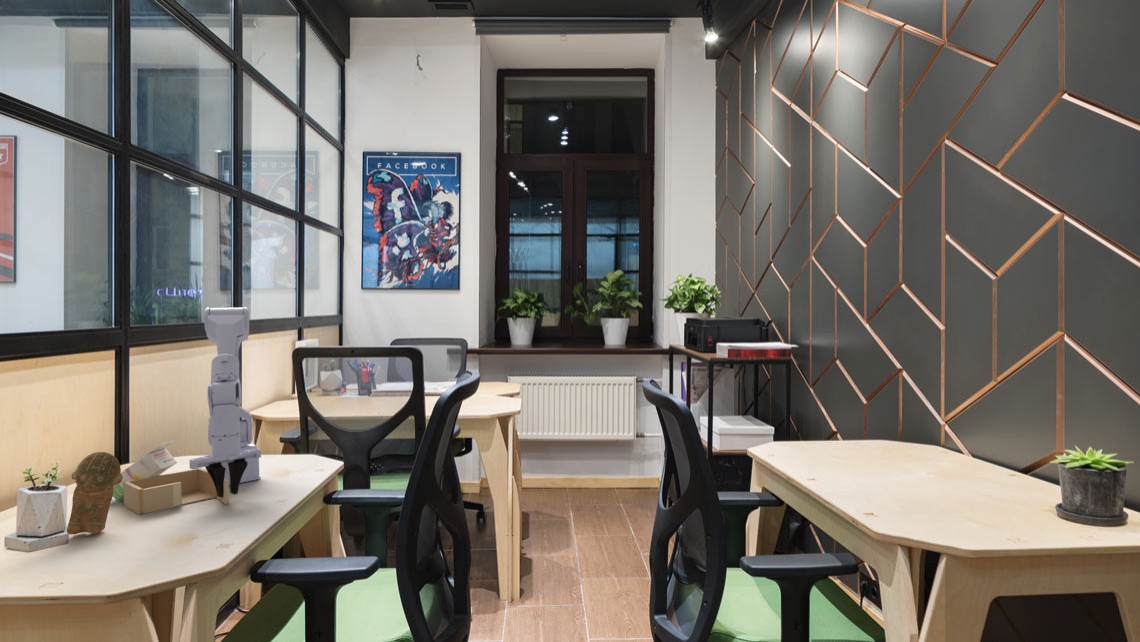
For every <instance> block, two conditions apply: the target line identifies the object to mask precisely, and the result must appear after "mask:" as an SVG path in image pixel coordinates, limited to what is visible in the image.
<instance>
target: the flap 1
mask: <svg viewBox="0 0 1140 642" xmlns="http://www.w3.org/2000/svg"><path fill="white" fill-rule="evenodd" d="M142 490H143V513H144V514H148V512H149V513H153V512H156V511H157V510H158V511H162V509H163V510H166V509H167V510H168V509H171V507H172V508H175V507H176V508H177V507H180V506H183V505H182V491H181V482H178V483H172V484H167V485H162V486H157V487H151V488H146V489H142ZM158 511H157V512H158Z"/></svg>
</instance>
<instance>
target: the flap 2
mask: <svg viewBox="0 0 1140 642" xmlns="http://www.w3.org/2000/svg"><path fill="white" fill-rule="evenodd" d="M216 499H218V500H219V501H221V502H222V503H223V504H225V505H226V504H229V503H230V485H229V483H228V480H227V479H225V478H224V482H223V497H219V496H217V498H216Z"/></svg>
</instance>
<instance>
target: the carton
mask: <svg viewBox="0 0 1140 642" xmlns="http://www.w3.org/2000/svg"><path fill="white" fill-rule="evenodd" d="M178 482H181V491H182V505H181V506H185V505H189V504H190V505H191V504H195V503H198V502H203V501H208V500H212V499H218V498H217V491H216V488H215V485H214V482H213V480H212V478H211V476H210V475H209V473H208V471H207V470H206V468H205V469H204V468H203V467H201V468H198V469H187V470H183V471H175V472H171V473H165V474H160V475H159V476H153V477H148V478H142V479H137V480H131V481H126V482H123V497H124V498H123V507H125V508H127V509H128V510H130V511H132V512H134V513H136V514H138V515H144V514H145V513H143V490H142V489H146V488H151V487H157V486H162V485H167V484H172V483H178ZM171 508H173V507H171ZM171 508H170V509H171ZM162 510H164V509H162ZM162 510H161V511H162ZM157 512H159V510H157ZM148 513H150V512H148ZM148 513H147V514H148Z"/></svg>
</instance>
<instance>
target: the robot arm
mask: <svg viewBox="0 0 1140 642" xmlns="http://www.w3.org/2000/svg"><path fill="white" fill-rule="evenodd" d="M203 315H204V316H203V318H204V320H203V322H204V331H205V334H206V337H207V339H208V341H210V342H212V343H215V344H216V351H217V355H216V356H215V357H213V359H211V365H210V366H211V367H210V368H211V370H210V384H208V385H207V390H206V391H207V396H206V397H207V404H208V409H209V418H208V428H207V429H208V430H207V438H208V441H207V442H208V445H209V446H210V447H211V454H209V455H205V456H201V457H197V458H196V457H195V458H192V459H191V458H190V459H189V469H190V470H192V469H198V468H205V470H207V471H208V473H209V475H210V476H211V478H212V480H213V482H214V485H215V488H216V491H217V496H219V497H223V482H224V478H225V479H227V480H228V483H229V493H230V494H232V495H237V494H238V492H239V486H240V484H243V483H246V482H252V481H257V480H260V479H261V476H260V458H262V449H261V448H259V447H257V445H256V444H255V443H252V442H253V441H254V440H253V433H254V432H253V431H254V430H253V420H252V414H251V412H250V411H249V410H247V409H246V408H243V407H242V406H241V403H242V385H241V380H240V359H239V349H240V347H241V344H242V343H243V342H244V341H247V340H248V339H249V336H250V310H249V308H248V307H247V306H243V307H206V308H205V309H204V313H203ZM240 418H241V419H240Z"/></svg>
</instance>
